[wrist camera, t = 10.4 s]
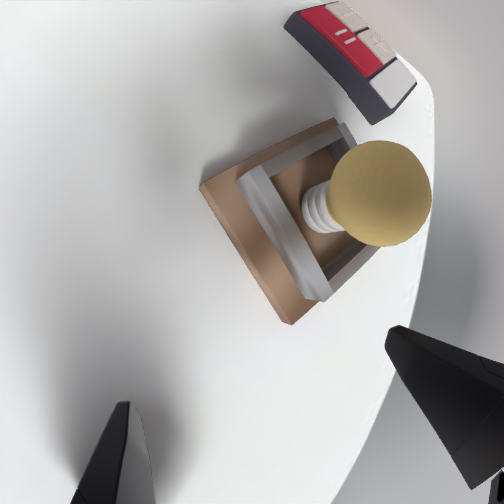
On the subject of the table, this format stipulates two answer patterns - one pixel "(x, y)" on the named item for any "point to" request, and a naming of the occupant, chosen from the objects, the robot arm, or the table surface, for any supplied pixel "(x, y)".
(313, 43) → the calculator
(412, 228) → the light bulb
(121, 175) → the table surface
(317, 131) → the square frame
